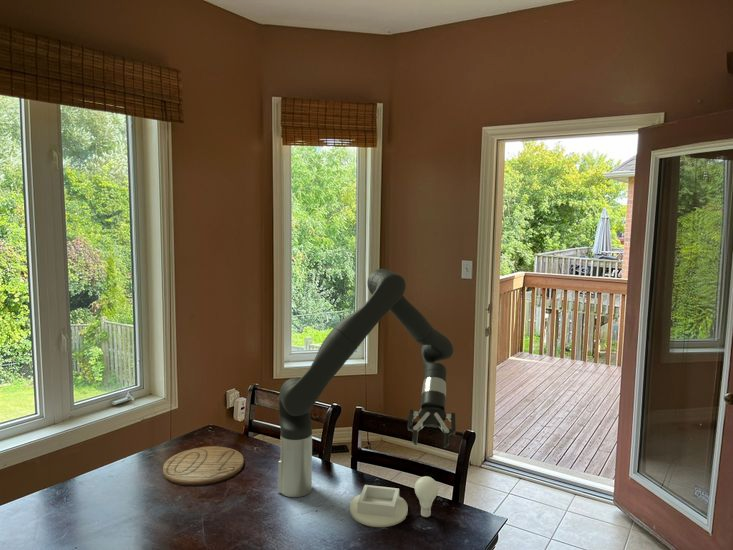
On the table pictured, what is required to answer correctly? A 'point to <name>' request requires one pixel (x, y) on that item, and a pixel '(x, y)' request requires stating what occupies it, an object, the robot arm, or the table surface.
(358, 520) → the lamp base
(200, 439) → the table surface
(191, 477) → the trivet
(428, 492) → the lightbulb
